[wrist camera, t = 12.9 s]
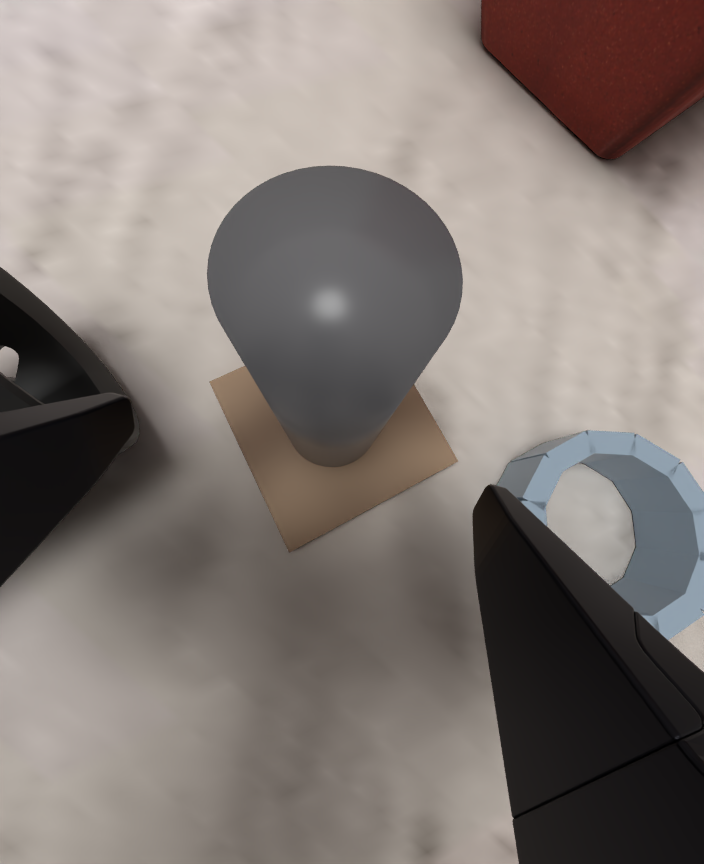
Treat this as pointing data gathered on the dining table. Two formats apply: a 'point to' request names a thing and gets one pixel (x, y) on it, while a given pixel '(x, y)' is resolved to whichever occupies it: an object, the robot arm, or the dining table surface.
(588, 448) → the collar
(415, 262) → the plug
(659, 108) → the plant pot
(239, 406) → the mat
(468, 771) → the dining table surface
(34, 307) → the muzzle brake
